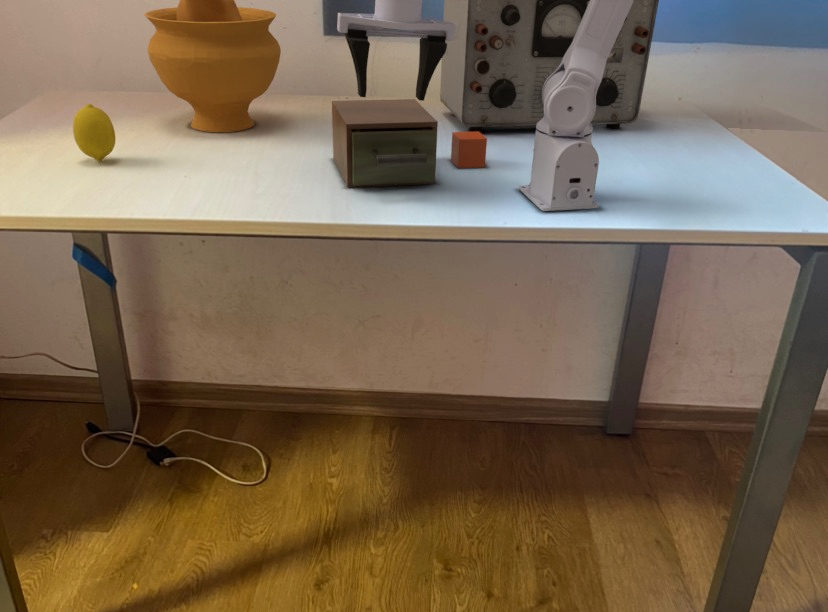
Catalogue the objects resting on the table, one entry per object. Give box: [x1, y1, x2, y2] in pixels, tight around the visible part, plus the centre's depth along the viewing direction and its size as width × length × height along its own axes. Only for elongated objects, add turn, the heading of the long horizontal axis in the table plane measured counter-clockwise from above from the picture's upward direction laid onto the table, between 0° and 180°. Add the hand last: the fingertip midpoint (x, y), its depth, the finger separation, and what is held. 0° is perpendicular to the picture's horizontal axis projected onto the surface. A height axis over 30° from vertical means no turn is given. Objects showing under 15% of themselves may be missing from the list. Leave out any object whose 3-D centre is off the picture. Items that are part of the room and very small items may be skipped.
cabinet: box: [331, 98, 439, 188], centre depth 113 cm, size 14×12×8 cm
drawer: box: [351, 127, 437, 185], centre depth 109 cm, size 18×11×7 cm, turn 13°
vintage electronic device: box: [439, 0, 660, 134], centre depth 135 cm, size 32×18×25 cm, turn 101°
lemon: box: [72, 103, 116, 163], centre depth 113 cm, size 6×6×8 cm
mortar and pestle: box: [144, 0, 282, 133], centre depth 127 cm, size 21×21×30 cm
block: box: [450, 131, 488, 169], centre depth 119 cm, size 4×4×4 cm
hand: (391, 97), depth 103 cm, fingers open, 7 cm apart
